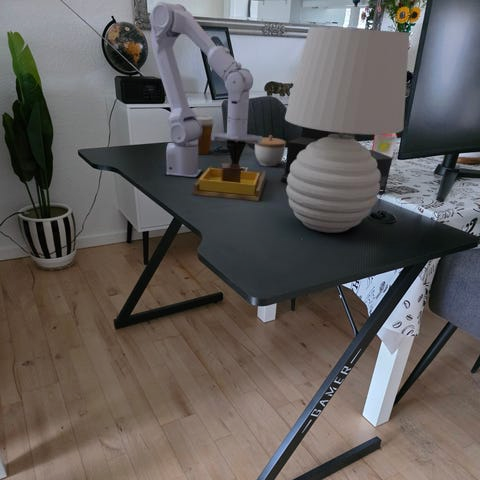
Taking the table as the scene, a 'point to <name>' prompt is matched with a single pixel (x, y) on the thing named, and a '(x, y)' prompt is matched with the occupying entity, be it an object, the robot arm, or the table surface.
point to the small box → (382, 168)
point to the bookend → (302, 145)
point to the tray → (214, 183)
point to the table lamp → (344, 121)
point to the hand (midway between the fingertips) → (235, 167)
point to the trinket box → (270, 151)
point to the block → (230, 172)
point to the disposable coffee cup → (205, 134)
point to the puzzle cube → (384, 143)
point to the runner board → (232, 195)
